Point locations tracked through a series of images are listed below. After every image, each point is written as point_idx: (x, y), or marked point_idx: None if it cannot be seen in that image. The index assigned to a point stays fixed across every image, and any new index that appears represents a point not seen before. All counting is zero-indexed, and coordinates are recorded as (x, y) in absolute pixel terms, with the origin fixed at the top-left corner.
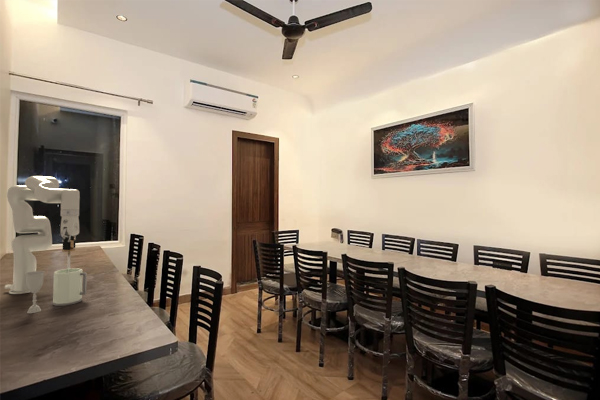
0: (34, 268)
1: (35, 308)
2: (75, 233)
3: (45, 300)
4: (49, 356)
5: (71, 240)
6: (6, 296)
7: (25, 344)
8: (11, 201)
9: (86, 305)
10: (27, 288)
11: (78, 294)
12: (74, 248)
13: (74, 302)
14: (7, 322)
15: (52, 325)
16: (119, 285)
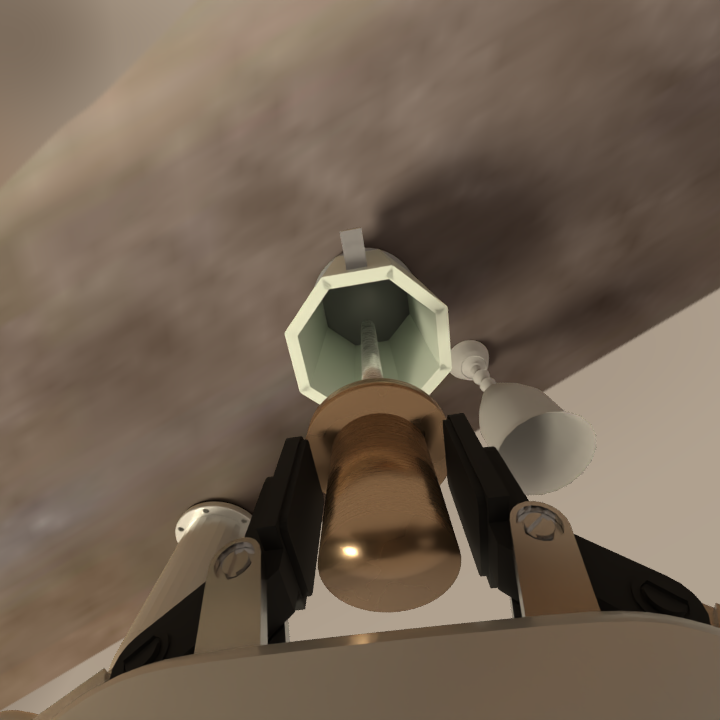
0: (170, 598)
1: (484, 354)
2: (434, 690)
3: None
4: None
5: (364, 546)
6: None
7: None
8: None
9: (425, 181)
10: (233, 527)
11: (380, 251)
12: (312, 428)
13: (394, 256)
14: (571, 371)
15: (669, 182)
16: (63, 186)
